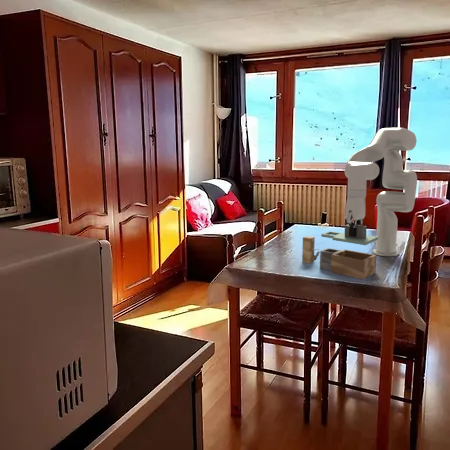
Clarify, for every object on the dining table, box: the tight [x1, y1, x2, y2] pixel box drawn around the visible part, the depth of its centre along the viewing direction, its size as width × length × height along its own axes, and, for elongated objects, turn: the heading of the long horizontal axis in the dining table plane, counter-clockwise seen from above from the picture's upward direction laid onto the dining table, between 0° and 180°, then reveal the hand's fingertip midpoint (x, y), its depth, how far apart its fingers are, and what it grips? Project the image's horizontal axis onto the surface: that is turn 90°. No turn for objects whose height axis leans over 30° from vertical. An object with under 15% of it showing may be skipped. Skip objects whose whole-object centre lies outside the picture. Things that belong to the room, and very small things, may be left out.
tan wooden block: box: [301, 235, 316, 264], centre depth 205 cm, size 4×4×12 cm
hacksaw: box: [314, 248, 320, 261], centre depth 221 cm, size 24×10×2 cm, turn 161°
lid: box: [320, 223, 378, 246], centre depth 188 cm, size 12×22×6 cm, turn 47°
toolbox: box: [319, 247, 377, 280], centre depth 190 cm, size 12×22×8 cm, turn 47°
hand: (355, 235), depth 186 cm, fingers closed on lid, 4 cm apart
